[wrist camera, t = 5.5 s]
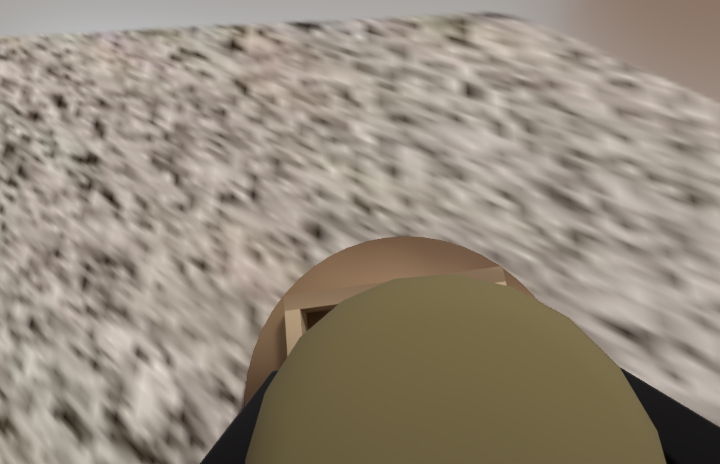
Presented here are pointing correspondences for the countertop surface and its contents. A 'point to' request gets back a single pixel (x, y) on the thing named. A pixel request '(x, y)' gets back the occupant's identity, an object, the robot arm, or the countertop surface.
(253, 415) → the robot arm
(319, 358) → the pepper shaker
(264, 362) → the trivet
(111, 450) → the countertop surface
